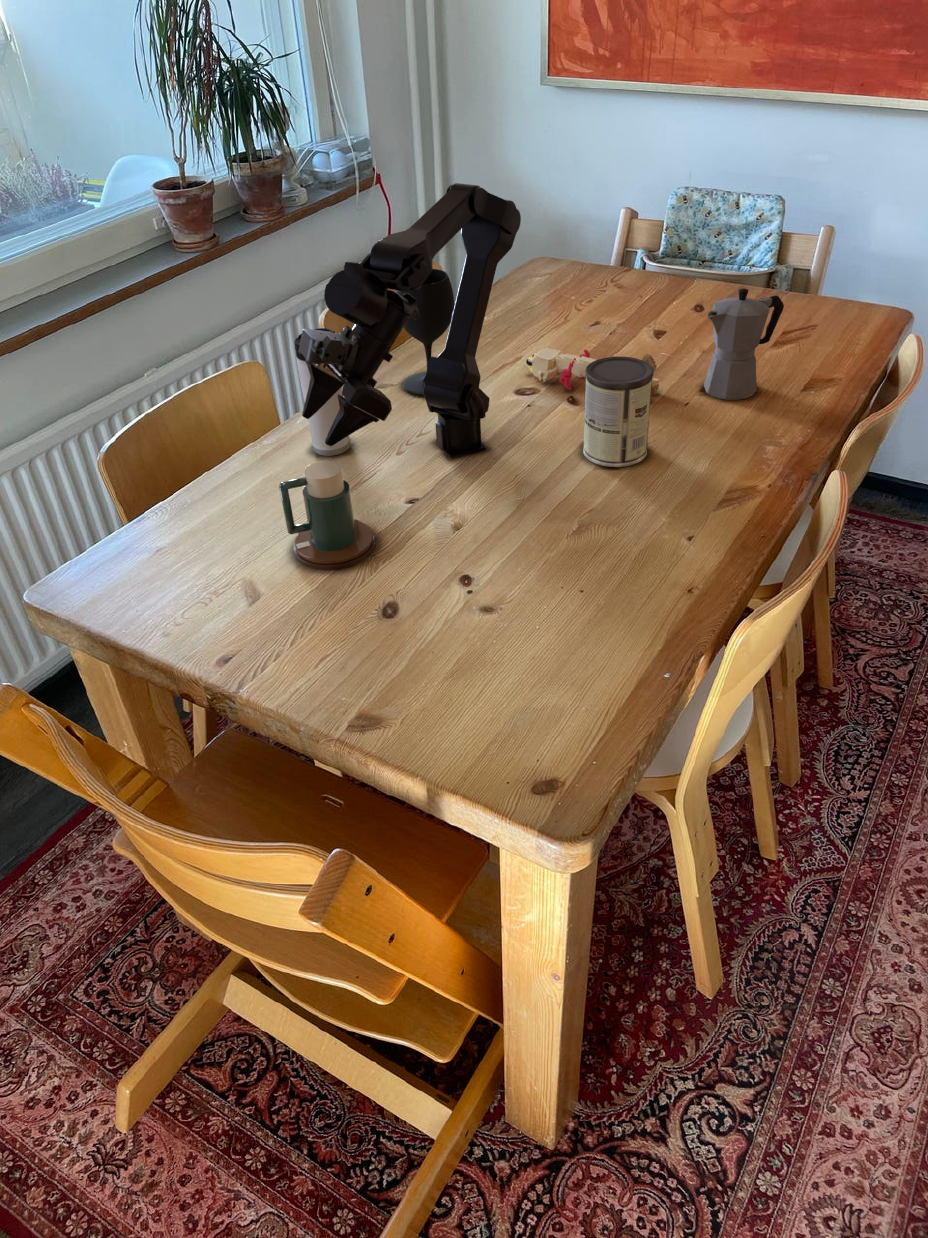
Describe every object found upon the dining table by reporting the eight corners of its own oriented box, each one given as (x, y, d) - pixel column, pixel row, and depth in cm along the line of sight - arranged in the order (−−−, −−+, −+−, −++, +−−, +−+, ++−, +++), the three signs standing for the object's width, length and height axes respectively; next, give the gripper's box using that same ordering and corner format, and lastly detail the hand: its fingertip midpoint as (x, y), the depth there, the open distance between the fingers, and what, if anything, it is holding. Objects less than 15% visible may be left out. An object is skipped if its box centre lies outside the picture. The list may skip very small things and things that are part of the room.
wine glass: (466, 375, 178) (461, 268, 165) (447, 399, 170) (440, 288, 158) (415, 370, 180) (406, 264, 168) (394, 393, 173) (383, 284, 160)
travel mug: (346, 457, 154) (327, 342, 141) (308, 455, 155) (286, 340, 142) (357, 438, 159) (340, 324, 146) (320, 436, 160) (300, 323, 147)
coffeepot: (713, 407, 162) (727, 304, 151) (683, 387, 169) (693, 287, 158) (787, 389, 167) (805, 287, 156) (754, 370, 174) (769, 271, 162)
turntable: (360, 517, 139) (359, 513, 139) (387, 556, 131) (387, 551, 130) (284, 537, 136) (283, 533, 135) (307, 579, 127) (306, 574, 127)
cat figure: (661, 393, 170) (538, 359, 180) (669, 347, 165) (542, 315, 174) (640, 415, 164) (514, 379, 173) (647, 368, 158) (517, 334, 167)
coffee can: (594, 433, 157) (597, 352, 148) (654, 443, 153) (661, 360, 145) (573, 461, 150) (575, 377, 141) (636, 472, 146) (642, 387, 137)
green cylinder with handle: (361, 514, 138) (352, 443, 131) (382, 552, 130) (373, 479, 123) (283, 532, 135) (269, 460, 128) (299, 572, 127) (286, 498, 120)
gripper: (302, 283, 129) (247, 381, 133) (353, 330, 116) (290, 436, 120) (365, 321, 136) (311, 412, 141) (419, 369, 123) (358, 468, 128)
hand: (316, 430), depth 132 cm, fingers open, 9 cm apart
